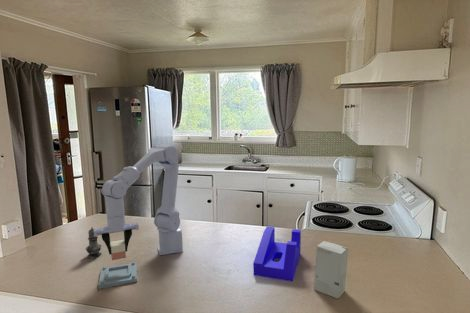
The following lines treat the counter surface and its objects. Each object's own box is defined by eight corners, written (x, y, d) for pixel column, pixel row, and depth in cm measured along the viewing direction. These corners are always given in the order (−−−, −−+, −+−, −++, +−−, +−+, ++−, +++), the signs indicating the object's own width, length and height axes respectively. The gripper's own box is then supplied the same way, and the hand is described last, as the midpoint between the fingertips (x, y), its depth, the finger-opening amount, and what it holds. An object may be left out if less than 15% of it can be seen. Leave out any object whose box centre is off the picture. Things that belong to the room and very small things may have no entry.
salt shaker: (96, 259, 121) (93, 230, 119) (83, 258, 122) (80, 229, 120) (105, 252, 126) (103, 224, 125) (92, 251, 128) (90, 224, 126)
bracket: (267, 250, 127) (266, 226, 125) (300, 255, 122) (300, 230, 121) (253, 276, 107) (253, 247, 106) (292, 282, 103) (293, 252, 101)
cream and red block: (124, 252, 111) (123, 239, 111) (125, 257, 107) (124, 244, 107) (111, 255, 109) (110, 241, 109) (112, 260, 105) (111, 246, 105)
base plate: (136, 265, 115) (136, 260, 115) (137, 281, 104) (136, 276, 104) (101, 271, 111) (101, 266, 111) (98, 288, 100) (98, 283, 100)
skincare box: (313, 290, 98) (314, 245, 95) (321, 282, 102) (322, 239, 100) (339, 300, 92) (341, 253, 90) (346, 291, 97) (348, 246, 95)
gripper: (135, 208, 113) (137, 243, 114) (92, 214, 106) (95, 251, 108) (138, 214, 106) (140, 251, 108) (92, 220, 100) (95, 259, 102)
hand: (118, 251), depth 108 cm, fingers closed on cream and red block, 4 cm apart
